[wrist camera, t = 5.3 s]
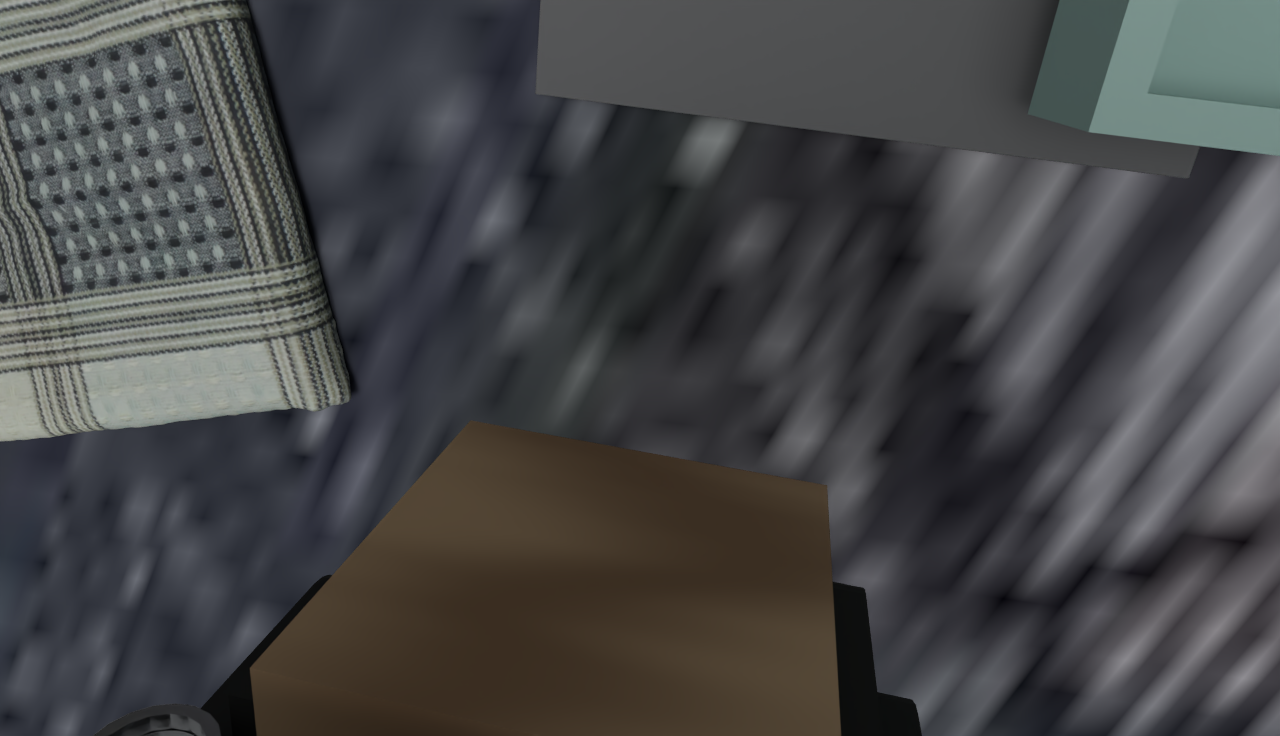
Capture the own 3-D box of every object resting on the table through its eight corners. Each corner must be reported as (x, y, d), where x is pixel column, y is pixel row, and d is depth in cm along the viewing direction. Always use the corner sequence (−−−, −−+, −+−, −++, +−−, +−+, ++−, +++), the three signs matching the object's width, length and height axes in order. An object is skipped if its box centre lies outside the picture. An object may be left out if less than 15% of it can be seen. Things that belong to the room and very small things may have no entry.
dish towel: (218, -174, 23) (135, -205, 20) (370, 395, 30) (323, 433, 27) (-256, -62, 27) (-382, -75, 24) (-35, 418, 34) (-115, 454, 31)
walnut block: (827, 485, 11) (844, 805, 6) (766, 759, 13) (745, 1160, 8) (470, 420, 11) (250, 668, 7) (463, 691, 13) (287, 1025, 9)
